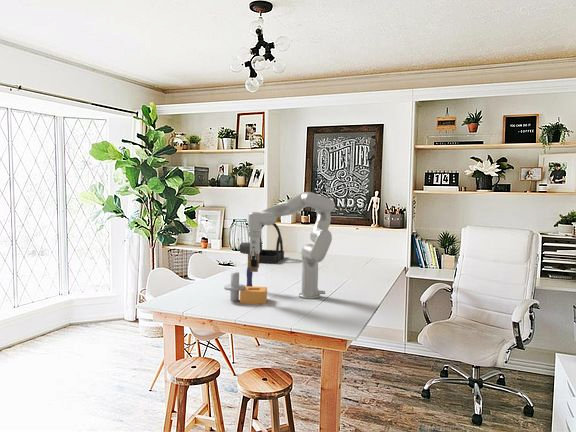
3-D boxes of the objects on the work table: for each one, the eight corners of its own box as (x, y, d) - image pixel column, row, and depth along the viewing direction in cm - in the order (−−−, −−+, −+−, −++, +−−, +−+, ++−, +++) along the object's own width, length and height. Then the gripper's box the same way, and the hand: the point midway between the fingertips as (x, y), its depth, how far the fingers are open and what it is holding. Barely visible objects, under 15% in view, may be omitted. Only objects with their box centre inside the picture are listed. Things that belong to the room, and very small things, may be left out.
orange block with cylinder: (266, 298, 271) (267, 271, 270) (264, 304, 259) (265, 275, 258) (226, 297, 272) (226, 270, 271) (222, 302, 260) (222, 274, 259)
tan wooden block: (258, 270, 266) (259, 250, 265) (258, 272, 262) (258, 251, 261) (250, 270, 266) (250, 249, 265) (249, 271, 262) (249, 250, 261)
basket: (275, 264, 384) (276, 223, 381) (251, 263, 388) (251, 222, 385) (284, 257, 418) (285, 219, 415) (262, 256, 422) (262, 218, 419)
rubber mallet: (237, 289, 291) (238, 242, 289) (243, 287, 298) (244, 241, 296) (255, 292, 286) (256, 244, 284) (260, 289, 293) (261, 242, 291)
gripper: (259, 235, 254) (259, 268, 255) (262, 232, 270) (262, 263, 272) (246, 235, 254) (245, 268, 255) (250, 232, 271) (249, 263, 272)
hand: (254, 265), depth 264 cm, fingers closed on tan wooden block, 4 cm apart
